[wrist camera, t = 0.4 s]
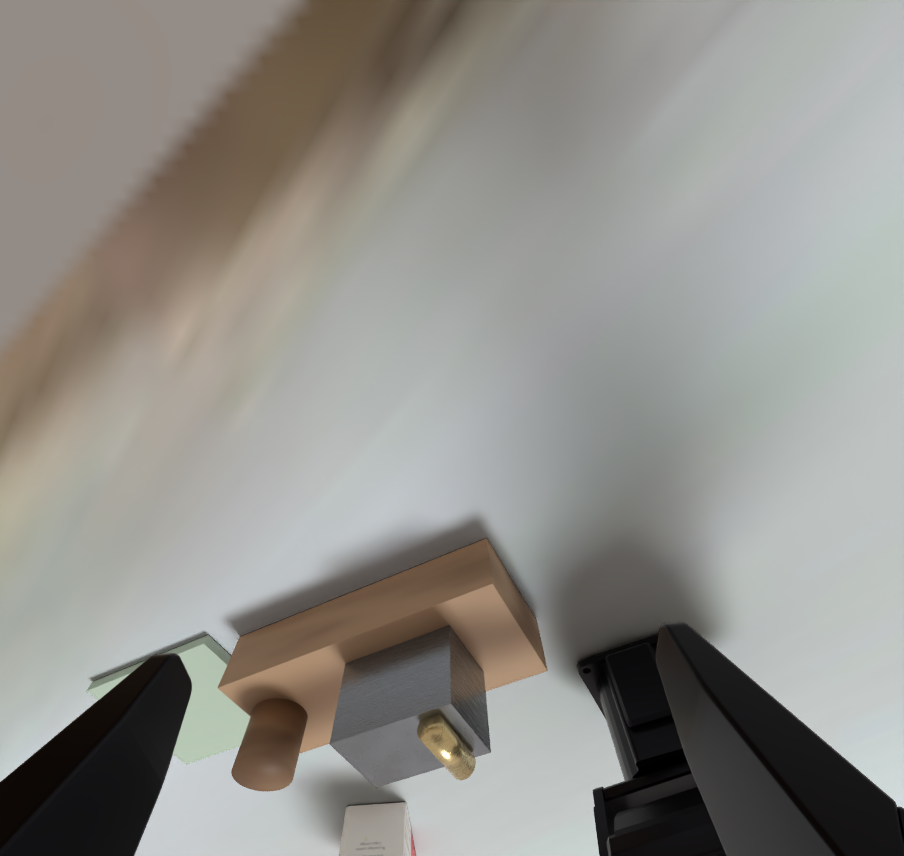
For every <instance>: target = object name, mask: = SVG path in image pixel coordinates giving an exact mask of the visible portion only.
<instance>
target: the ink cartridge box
mask: <svg viewBox="0 0 904 856" xmlns="http://www.w3.org/2000/svg"><path fill="white" fill-rule="evenodd" d="M339 856H416V853H415V848H414V843H413V837H412V832H411V826H410V821H409V816H408V810H407V804H406V802H401V803H386V804H370V805H356V806H348V807H346V811H345V817H344V824H343V831H342V838H341V845H340V852H339Z"/></svg>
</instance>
